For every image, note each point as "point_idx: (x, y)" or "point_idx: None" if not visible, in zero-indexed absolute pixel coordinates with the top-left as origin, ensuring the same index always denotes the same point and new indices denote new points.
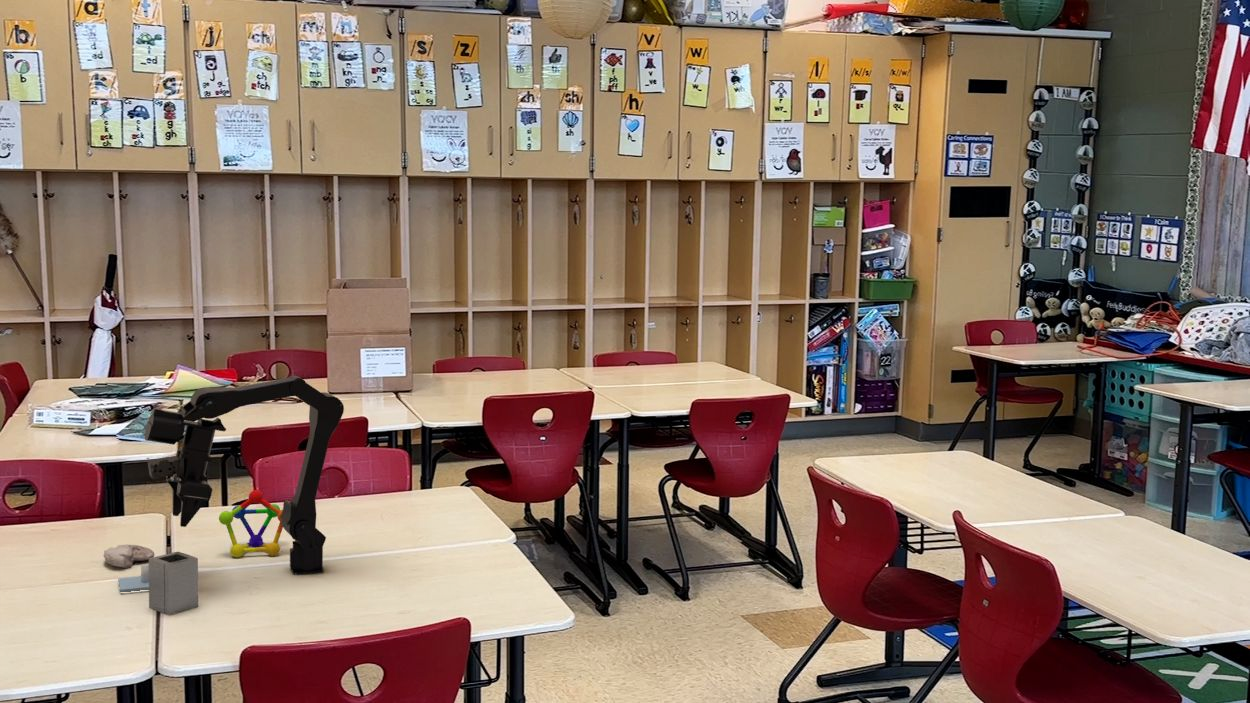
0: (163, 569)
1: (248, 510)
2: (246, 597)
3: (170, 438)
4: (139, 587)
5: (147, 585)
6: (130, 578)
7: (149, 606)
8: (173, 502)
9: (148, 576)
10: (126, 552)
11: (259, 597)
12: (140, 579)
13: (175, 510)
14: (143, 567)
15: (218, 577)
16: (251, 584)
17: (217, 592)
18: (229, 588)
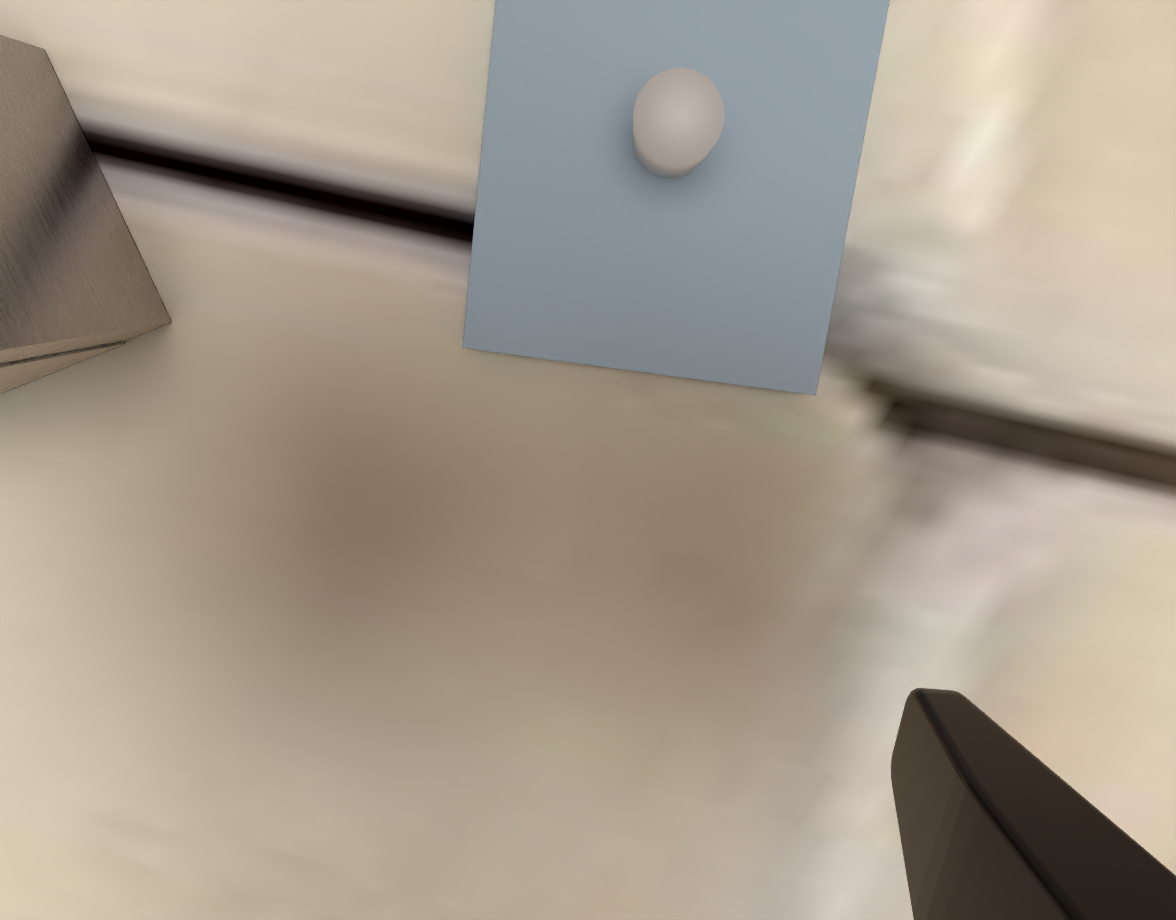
0: None
1: None
2: (48, 775)
3: None
4: (503, 47)
5: (531, 131)
6: (834, 20)
7: (33, 49)
8: (1069, 918)
9: (642, 159)
10: None
11: (18, 848)
12: (752, 107)
13: (935, 800)
14: (642, 91)
15: (623, 737)
16: (338, 888)
17: (243, 632)
18: (307, 732)
